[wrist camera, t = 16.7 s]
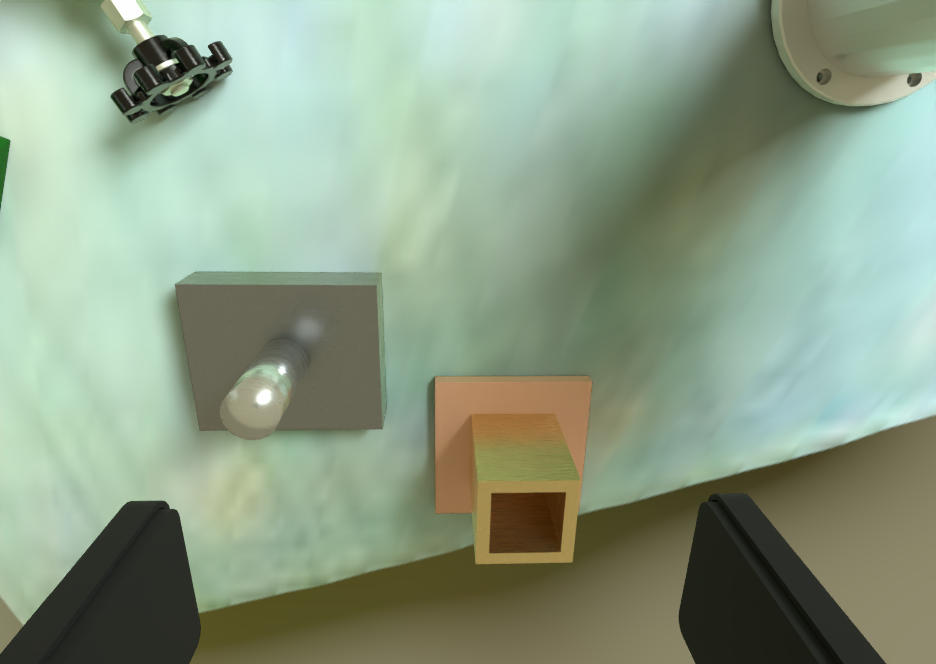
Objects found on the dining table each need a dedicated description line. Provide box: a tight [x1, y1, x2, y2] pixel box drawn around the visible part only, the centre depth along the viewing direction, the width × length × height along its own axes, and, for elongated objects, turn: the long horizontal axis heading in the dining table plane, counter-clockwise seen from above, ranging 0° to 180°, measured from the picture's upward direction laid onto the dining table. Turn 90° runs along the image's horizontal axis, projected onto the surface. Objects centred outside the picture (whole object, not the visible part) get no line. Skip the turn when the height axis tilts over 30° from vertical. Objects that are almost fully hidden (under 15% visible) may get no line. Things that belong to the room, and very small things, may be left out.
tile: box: [435, 376, 592, 514], centre depth 42 cm, size 11×11×1 cm
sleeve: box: [470, 414, 581, 564], centre depth 37 cm, size 6×6×8 cm
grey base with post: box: [175, 272, 387, 440], centre depth 34 cm, size 12×10×10 cm
